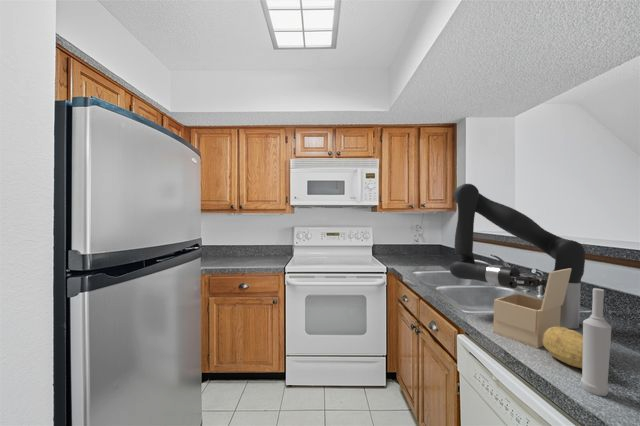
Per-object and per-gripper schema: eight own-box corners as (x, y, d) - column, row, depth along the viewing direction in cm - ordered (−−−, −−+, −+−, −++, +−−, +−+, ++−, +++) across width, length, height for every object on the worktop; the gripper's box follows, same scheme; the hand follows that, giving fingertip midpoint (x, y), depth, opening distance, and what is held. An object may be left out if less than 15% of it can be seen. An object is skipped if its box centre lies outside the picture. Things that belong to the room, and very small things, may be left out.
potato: (573, 353, 94) (574, 323, 94) (608, 379, 80) (609, 344, 79) (537, 350, 96) (538, 320, 96) (564, 375, 82) (566, 340, 81)
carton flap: (569, 268, 103) (571, 268, 102) (561, 304, 105) (562, 304, 104) (549, 272, 95) (551, 272, 94) (540, 310, 97) (542, 311, 96)
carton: (516, 324, 118) (518, 293, 117) (560, 337, 106) (561, 303, 105) (492, 332, 109) (493, 299, 108) (536, 348, 97) (537, 311, 96)
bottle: (594, 384, 78) (598, 286, 77) (614, 396, 72) (619, 292, 72) (574, 383, 77) (578, 286, 77) (593, 396, 72) (598, 292, 72)
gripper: (492, 267, 111) (547, 275, 96) (511, 264, 118) (565, 271, 103) (492, 287, 111) (546, 299, 96) (511, 284, 118) (565, 294, 103)
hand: (556, 285), depth 99 cm, fingers closed
